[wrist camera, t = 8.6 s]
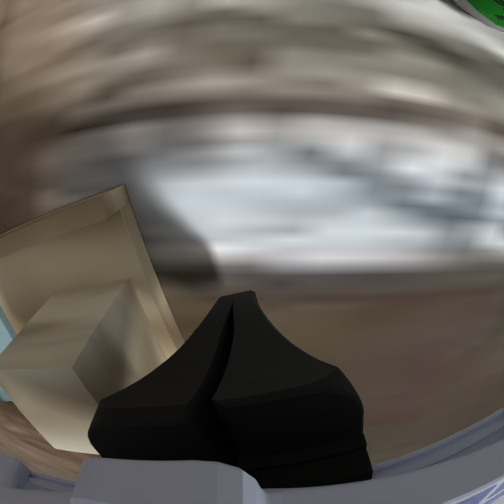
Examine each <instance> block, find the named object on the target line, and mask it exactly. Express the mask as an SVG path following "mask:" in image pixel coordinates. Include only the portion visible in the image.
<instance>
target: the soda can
mask: <svg viewBox="0 0 504 504" xmlns="http://www.w3.org/2000/svg"><path fill="white" fill-rule="evenodd" d="M452 1H453V2H455V3H456V4H457V5H458V6H459V7H460V8H461V9H463V10H465V11H466V12H468V13H469V14H471V15H472V16H474V17H475V18H477V19H478V20H480V21H481V22H482V23H484V24H485V25H487V26H489V27H491V28H494V29H497V30H499V31H502V32H504V0H452Z"/></svg>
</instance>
